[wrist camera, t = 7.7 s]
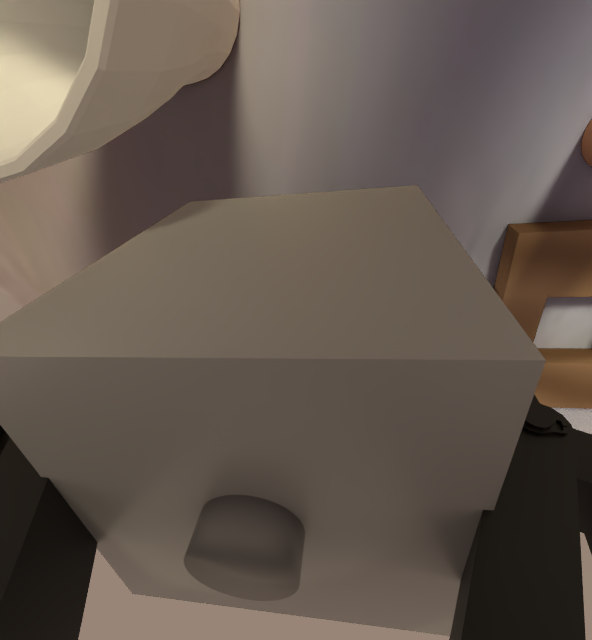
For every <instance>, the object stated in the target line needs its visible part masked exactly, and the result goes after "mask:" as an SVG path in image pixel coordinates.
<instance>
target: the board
mask: <svg viewBox="0 0 592 640" xmlns="http://www.w3.org/2000/svg"><path fill="white" fill-rule="evenodd" d="M494 290H495V292H496V293H497V294H498V296H499V297H500V299H501V300H502V301H503V303H504V304H505V305H506V307H507V308H508V309H509V311H510V312H511V314H512V315H513V316H514V318H515V319H516V320H517V322H518V323H519V324H520V326H521V327H522V329H523V330H524V331H525V333H526V334H527V335H528V337H529V338H530V339H531V341H532V342H533V341H534V338H535V335H536V332H537V328H538V325H539V322H540V319H541V316H542V313H543V309H544V306H545V303H546V300H547V297H590V296H592V220H581V221H562V222H543V223H523V224H508V228H507V232H506V237H505V241H504V246H503V250H502V255H501V259H500V264H499V268H498V273H497V277H496V282H495V286H494ZM537 349H538V350H539V352H540V353H541V354H542V356H543V357H544V358H545V360H546V362H545V365H544V367H543V370H542V373H541V376H540V379H539V382H538V385H537V388H536V390H535V393H534V395H535V396H536V398H537V399H538V401H539V403H540V404H543V405H546V406H548V407H560V408H592V349H546V348H537Z"/></svg>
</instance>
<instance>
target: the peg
mask: <svg viewBox="0 0 592 640" xmlns="http://www.w3.org/2000/svg"><path fill="white" fill-rule="evenodd" d="M581 151H582V155H583V158H584V159H585V161H586V162H587V163H588V164H589V165H590V166H591V167H592V120H591V121H590V122H589V124H588V126H587V128H586V130H585V132H584V135H583V138H582V144H581Z"/></svg>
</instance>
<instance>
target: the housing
mask: <svg viewBox="0 0 592 640" xmlns="http://www.w3.org/2000/svg"><path fill="white" fill-rule="evenodd" d="M545 362H546V360H545V358H544V357H543V356H542V354H541V353H540V352H539V350H538V349H537V348H536V346H535V345H534V343H533V342H532V341H531V339H530V338H529V337H528V335H527V334H526V333H525V331H524V330H523V329H522V327H521V326H520V324H519V323H518V322H517V320H516V319H515V318H514V316H513V315H512V314H511V312H510V311H509V309H508V308H507V307H506V305H505V304H504V303H503V301H502V300H501V299H500V297H499V296H498V294H497V293H496V292H495V290H494V289H493V288H492V286H491V285H490V284H489V282H488V281H487V279H486V278H485V277H484V275H483V274H482V273H481V271H480V270H479V269H478V267H477V266H476V265H475V263H474V262H473V260H472V259H471V258H470V256H469V255H468V254H467V252H466V251H465V250H464V248H463V247H462V245H461V244H460V243H459V241H458V240H457V239H456V237H455V236H454V235H453V233H452V232H451V230H450V229H449V228H448V226H447V225H446V224H445V222H444V221H443V220H442V218H441V217H440V216H439V214H438V213H437V211H436V210H435V209H434V207H433V206H432V205H431V203H430V202H429V201H428V199H427V198H426V196H425V195H424V194H423V192H422V191H421V190H420V188H419V187H418V186H417V185H410V186H397V187H383V188H370V189H356V190H342V191H329V192H315V193H302V194H288V195H274V196H261V197H247V198H234V199H220V200H206V201H193V202H189V203H187V204H186V205H184V206H182V207H181V208H179V209H178V210H176V211H175V212H173V213H171V214H170V215H168V216H167V217H165V218H164V219H162V220H160V221H159V222H157V223H156V224H154V225H152V226H151V227H149V228H148V229H146V230H145V231H143V232H141V233H140V234H138V235H137V236H135V237H134V238H132V239H130V240H129V241H127V242H126V243H124V244H123V245H121V246H119V247H118V248H116V249H115V250H113V251H111V252H110V253H108V254H107V255H105V256H104V257H102V258H100V259H99V260H97V261H96V262H94V263H93V264H91V265H89V266H88V267H86V268H85V269H83V270H81V271H80V272H78V273H77V274H75V275H74V276H72V277H70V278H69V279H67V280H66V281H64V282H63V283H61V284H59V285H58V286H56V287H55V288H53V289H52V290H50V291H48V292H47V293H45V294H44V295H42V296H40V297H39V298H37V299H36V300H34V301H33V302H31V303H29V304H28V305H26V306H25V307H23V308H22V309H20V310H18V311H17V312H15V313H14V314H12V315H11V316H9V317H7V318H6V319H4V320H3V321H1V322H0V425H1V426H2V428H3V429H4V430H5V431H6V433H7V434H8V435H9V436H10V438H11V439H12V440H13V442H14V443H15V444H16V445H17V447H18V448H19V449H20V451H21V452H22V453H23V454H24V456H25V457H26V458H27V459H28V461H29V462H30V463H31V465H32V466H33V467H34V468H35V470H36V471H37V472H38V474H39V475H40V476H41V477H48V478H49V479H50V481H51V482H52V483H53V485H54V486H55V487H56V489H57V490H58V491H59V492H60V494H61V495H62V496H63V498H64V499H65V500H66V502H67V503H68V504H69V506H70V507H71V508H72V509H73V511H74V512H75V513H76V515H77V516H78V517H79V519H80V520H81V521H82V523H83V524H84V525H85V527H86V528H87V529H88V530H89V532H90V533H91V534H92V536H93V537H94V538H95V540H96V541H97V542H98V543H97V549H98V550H99V551H100V553H101V554H102V555H103V557H104V558H105V559H106V560H107V562H108V563H109V564H110V565H111V567H112V568H113V569H114V570H115V572H116V573H117V574H118V576H119V577H120V578H121V579H122V581H123V582H124V583H125V585H126V586H127V587H128V589H129V590H130V591H131V592H132V594H138V595H146V596H153V597H162V598H169V599H176V600H183V601H191V602H198V603H206V604H213V605H221V606H229V607H236V608H244V609H251V610H258V611H266V612H273V613H281V614H289V615H296V616H303V617H311V618H318V619H326V620H334V621H341V622H349V623H356V624H363V625H371V626H379V627H386V628H394V629H401V630H409V631H416V632H423V633H431V634H438V635H446V636H450V634H451V629H452V623H453V618H454V613H455V608H456V602H457V597H458V592H459V586H460V581H461V578H462V575H463V572H464V568H465V565H466V562H467V559H468V556H469V553H470V549H471V546H472V543H473V540H474V537H475V533H476V530H477V527H478V524H479V521H480V517H481V514H482V511H483V510H494V508H495V505H496V502H497V500H498V497H499V494H500V491H501V488H502V485H503V482H504V480H505V477H506V474H507V471H508V468H509V465H510V462H511V459H512V457H513V454H514V451H515V448H516V445H517V442H518V439H519V436H520V434H521V431H522V428H523V425H524V422H525V419H526V416H527V413H528V411H529V408H530V405H531V402H532V399H533V396H534V393H535V390H536V388H537V385H538V382H539V379H540V376H541V373H542V370H543V367H544V365H545Z"/></svg>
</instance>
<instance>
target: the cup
mask: <svg viewBox="0 0 592 640" xmlns="http://www.w3.org/2000/svg"><path fill="white" fill-rule="evenodd" d="M239 16H240V6H239V0H0V183H2V182H5V181H8V180H11V179H14V178H17V177H20V176H23V175H26V174H29V173H32V172H35V171H38V170H40V169H43V168H46V167H49V166H52V165H54V164H57V163H60V162H63V161H66V160H68V159H71V158H74V157H77V156H80V155H82V154H85V153H88V152H91V151H94V150H96V149H99V148H100V147H102V146H103V145H105V144H107V143H108V142H110V141H111V140H113V139H114V138H116V137H118V136H119V135H121V134H122V133H124V132H125V131H127V130H129V129H130V128H132V127H133V126H135V125H136V124H138V123H140V122H141V121H143V120H144V119H146V118H147V117H148V116H150V115H151V114H152V113H153V112H155V111H156V110H157V109H158V108H159V107H161V106H162V105H163V104H164V103H166V102H167V101H168V100H169V99H170V98H172V97H173V96H174V95H175V94H176V93H177V92H178V91H179V89H180V88H181V87H183V86H184V85H188V84H192V83H195V82H198V81H201V80H204V79H207V78H208V77H210V76H211V75H212V74H213V73H215V72H216V71H217V70H218V69H220V68H221V66H222V65H223V63H224V62H225V60H226V59H227V57H228V56H229V54H230V52H231V50H232V47H233V44H234V41H235V39H236V36H237V31H238V23H239Z"/></svg>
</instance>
